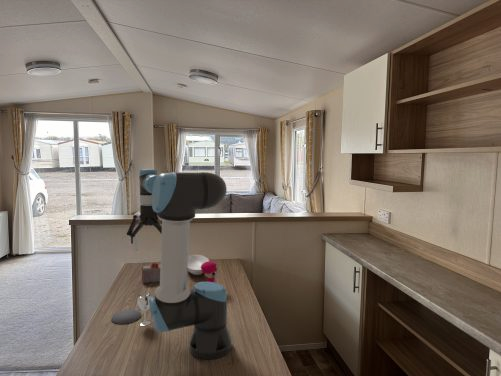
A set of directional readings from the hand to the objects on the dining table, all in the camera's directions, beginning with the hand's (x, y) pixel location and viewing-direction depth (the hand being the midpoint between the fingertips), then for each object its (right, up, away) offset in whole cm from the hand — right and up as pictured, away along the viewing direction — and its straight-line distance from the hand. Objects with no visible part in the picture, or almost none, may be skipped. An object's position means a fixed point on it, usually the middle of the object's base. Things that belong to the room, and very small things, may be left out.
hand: (149, 251), depth 149 cm
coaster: (-8, -27, -5) cm, 29 cm away
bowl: (+12, -23, +54) cm, 60 cm away
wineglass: (+1, -28, -10) cm, 30 cm away
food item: (-9, -24, +38) cm, 46 cm away
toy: (+23, -25, +25) cm, 42 cm away
